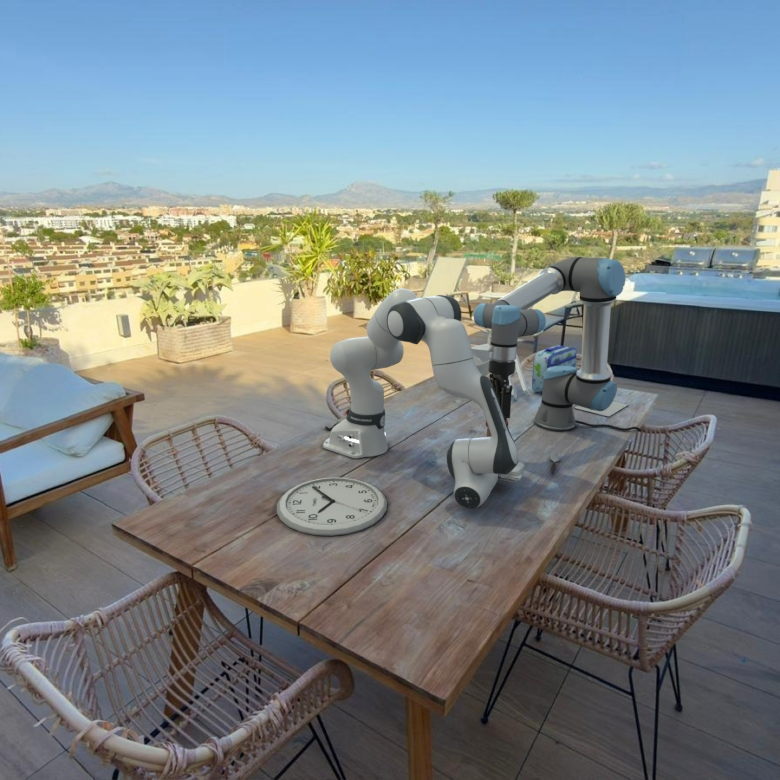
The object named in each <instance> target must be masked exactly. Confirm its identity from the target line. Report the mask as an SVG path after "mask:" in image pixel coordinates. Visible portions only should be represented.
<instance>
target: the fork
mask: <svg viewBox="0 0 780 780" xmlns="http://www.w3.org/2000/svg"><path fill="white" fill-rule="evenodd" d="M550 460H551V461H552V462H553V463H552V464H551V475H554V472H555V470H556V467H557V466H556V462H559V461H560V453H558V452H556V451H554V450H552V451H551V456H550Z"/></svg>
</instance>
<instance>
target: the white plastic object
mask: <svg viewBox="0 0 780 780" xmlns="http://www.w3.org/2000/svg"><path fill="white" fill-rule="evenodd" d="M490 345H491V344H489V343H488V342H487V343H483V344H479V345H473V346H471V348H472V353H473V358H474V362H475V365H476V367H477V369H478V370H479V372H480V373H481V374H482V375H483V376H485V377H487V375H490V374H491V373H490V372H489V370H488V369H489V360H490V359H491V358H490V352H489V349H490ZM514 361H515V362H516V363H515V370H516V372H517V376H518V380H519V382H520V385H521V389H522V391H523V393H524V395H525V396H526V397H528V396H531V395H530V390H529V388H528V387H529V386H528V384H527V381H526V378H525V375H524V371H523V369H522V368H523V367H522V366H521V362H520V359H519V355H518V353H517V354H516V359H515V360H514ZM508 378H509V385H512V387H513V388H512V393H511V396H512V397H513V398H514V399H515V400H517V392H516V391H517V390H516V388H515V385H514V381H513V378H512V375H509V377H508Z"/></svg>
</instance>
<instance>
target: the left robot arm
mask: <svg viewBox="0 0 780 780" xmlns="http://www.w3.org/2000/svg"><path fill="white" fill-rule="evenodd" d="M461 321H462V308H461V305H460V303H459V302H458V300H457V299H455V297H453V296H449V295H444V294H437V295H434V296H433V295H431V296H423V297H419V298H418V296H417V295H416V294H415V293H414V292H413V291H412V290H410V289H408V288H405V287H404V288H403V287H402V288H396V289H394V290H393V291H391V292H390V293H389V294H388V295H387V296H386V297H385V298H384V299H383V300H382V301H381V303H380V304H379V305H378V306H377V308H376V310H375V311H374V313H373V314H372V316H371V317H370V319H369V320H368V322H367V324H366V335H367V336H366V335H365V336H361V337H359V336H358V337H350V338H345V339H343V340H340V341H338V342H335V343H333V345H332V347H331V349H330V351H329V352H330V353H329V360H330V363H331V366H332V367H333V368H334V370H335V371H337V372H338V373H340V375H342V376H343V377H344V379H345V380H346V382H347V384H348V387H349V394H350V407H349V408H347V409H346V410H345V411H344V412H343V416H346V417H345V418H344V419H343V420H340V421H338V420H337V421H336V423H334V424H333V425H332V426H331V427H328V426H326V425H325V427H324V428H325V430H327V431H330V433H329V437H328V438H326V439H325V440H324V442H323V444H322V448H323V449H325V450H328V451H331V452H334V453H336V454H340V455H342V456H345V457H349V458H352V459H357V460H358V459H362V458H367V457H369V458H370V457H377V456H380V455H383V454H385V453H386V452H387V451H388V450H389V446H388V442H387V438H386V435H387V434H386V432H385V426H386V409H385V389H384V387H383V385H382V384H381V383H380V382H379V381H377V380H375V379H373V378H372V377H371V371H375V370H379V369H387V368H390V367H392V366H395V365H397V364H399V363H401V361H402V360H403V358H404V353H405V352H404V351H405V349H404V345H403V343H402V342H405V343H410V344H413V345H418V344H419V343H420V342H421V341H422V342H423V343H424V344H426V345H427V347H428V350H429V356H430V361H431V367H432V373H433V377H434V380H435V382H436V385H438V386H439V388H440V389H441V390H442V391H444V392H446V393H448V394H449V395H451V396H456V397H460V398H463V399H467V400H470V401H472V402H474V403H476V404H477V405H478V406H479V407H480V408H481V410H482V412H483V416H484V417H485V422H486V421H487V424H488V427H489V429H490V432H491V435H492V436H491V437H487V436H481V437H480V436H478V437H463V438H456V439H454V440H453V442H452V443H451V444H450V446H449V447H448V450H447V453H446V463H447V464H446V465H447V469H448V471H449V474H450V475H451V477H452V478H453V480H454V488H453V498H454V500H455V502H456V503H457V504H458V505H459V506H461V507H463V508H464V509H465V508H466V509H477V508H479V507H480V506H482V505H484V503H485V502H486V500H487V499H488V498H489V496H490V494H491V492H492V490H493V489H494V488H495V486H496V484H497V482H498V481H499V480H500V481H505V482H510V483H516V482H518V481H521V479H522V477H523V476H524V473H525V464H524V463H523V462H521V461H519V450H518V447H517V444H516V442H515V440H514V438H513V435H512V433H511V432H510V429H509V425H508V426H507V423H506V420H505V418H504V415H503V412H502V409H501V406H500V403H499V400H498V398H497V395H496V392H495V390H494V388H493V385H492V383H491V381H490V377H488V376H483V375H482V374H481V373H480V372H479V370H478V369H477V367H476V365H475V362H474V358H473V353H472V348H471V347H472V344H471V341H470V338H469V335H468V331H467V330H466V327H465V325H464V323H463V322H461ZM488 427H487V428H488Z"/></svg>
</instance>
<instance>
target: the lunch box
mask: <svg viewBox="0 0 780 780" xmlns="http://www.w3.org/2000/svg"><path fill="white" fill-rule="evenodd" d="M576 362H577V348H576V347H571V346H565V345H553V346H550V347H546V348H545V349H542V350H539V351H538V352H537V353H536V354H535V356H534V358H533V365H532V376H531V377H532V378H531V390H532V391H533V392H537V393H542V391H543V381H544V380H543V378H544V374H545V371H546V369H547V368H550V367H554V366H572V367H575V368H576V364H577V363H576Z"/></svg>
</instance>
